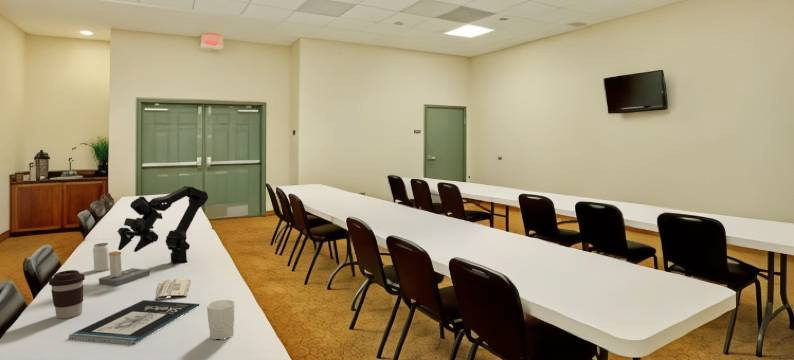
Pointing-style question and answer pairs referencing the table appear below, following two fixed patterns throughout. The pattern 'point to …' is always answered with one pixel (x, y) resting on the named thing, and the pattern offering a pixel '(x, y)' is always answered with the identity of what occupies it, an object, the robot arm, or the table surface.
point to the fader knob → (115, 264)
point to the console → (124, 277)
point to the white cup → (221, 319)
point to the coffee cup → (67, 293)
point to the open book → (173, 288)
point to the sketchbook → (134, 322)
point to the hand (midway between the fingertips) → (126, 250)
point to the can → (101, 257)
